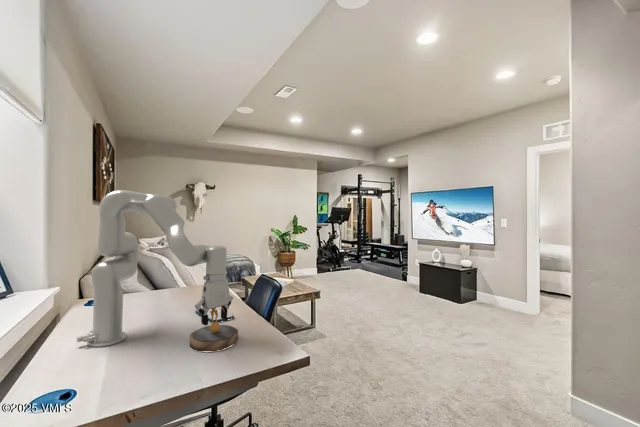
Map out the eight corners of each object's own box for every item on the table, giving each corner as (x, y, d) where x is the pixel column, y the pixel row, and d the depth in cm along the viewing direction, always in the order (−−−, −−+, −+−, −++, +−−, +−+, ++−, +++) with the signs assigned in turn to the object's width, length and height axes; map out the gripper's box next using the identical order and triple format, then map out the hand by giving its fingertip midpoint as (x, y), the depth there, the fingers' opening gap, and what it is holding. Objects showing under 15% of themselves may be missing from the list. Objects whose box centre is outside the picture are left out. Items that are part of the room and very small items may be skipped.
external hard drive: (193, 313, 153) (193, 309, 153) (214, 308, 161) (214, 304, 161) (213, 325, 136) (213, 321, 136) (235, 319, 144) (236, 315, 144)
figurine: (205, 336, 112) (206, 305, 112) (200, 331, 117) (201, 301, 117) (227, 331, 117) (227, 301, 117) (221, 327, 122) (222, 298, 122)
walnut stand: (207, 357, 104) (207, 345, 104) (180, 343, 115) (180, 333, 115) (247, 340, 119) (247, 330, 119) (220, 330, 129) (220, 320, 129)
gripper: (201, 282, 108) (199, 330, 108) (239, 275, 122) (238, 317, 122) (190, 279, 112) (188, 325, 112) (228, 273, 126) (227, 314, 126)
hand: (214, 321), depth 117 cm, fingers closed on figurine, 8 cm apart
